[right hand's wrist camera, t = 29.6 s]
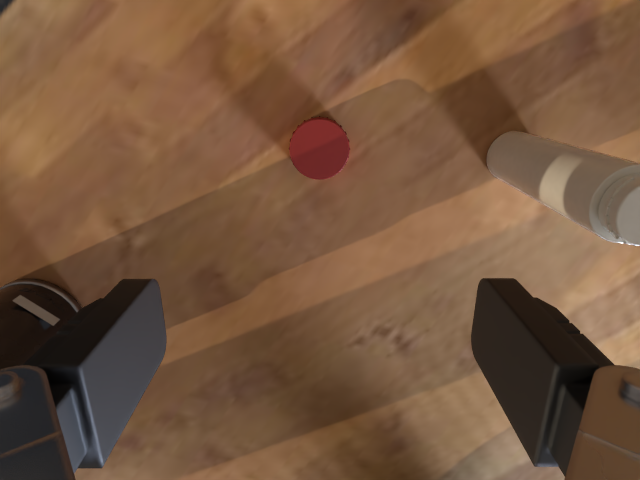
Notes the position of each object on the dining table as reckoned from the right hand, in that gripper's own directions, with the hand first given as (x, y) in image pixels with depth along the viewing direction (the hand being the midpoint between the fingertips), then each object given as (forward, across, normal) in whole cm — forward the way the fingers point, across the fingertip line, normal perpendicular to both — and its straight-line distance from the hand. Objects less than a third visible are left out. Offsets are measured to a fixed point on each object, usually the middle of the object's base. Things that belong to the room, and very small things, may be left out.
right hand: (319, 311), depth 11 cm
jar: (+28, +16, -1) cm, 32 cm away
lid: (+26, 0, 0) cm, 26 cm away
